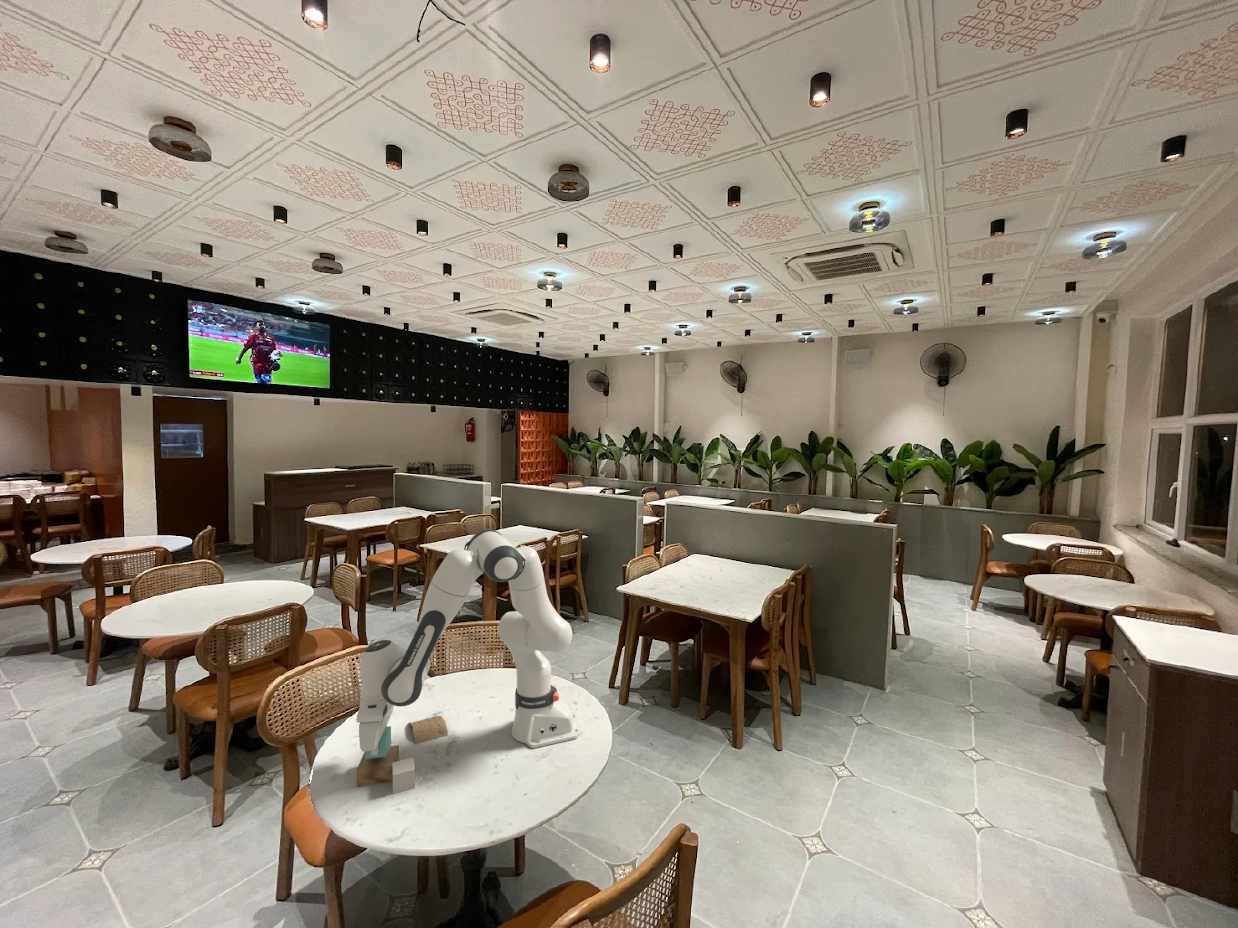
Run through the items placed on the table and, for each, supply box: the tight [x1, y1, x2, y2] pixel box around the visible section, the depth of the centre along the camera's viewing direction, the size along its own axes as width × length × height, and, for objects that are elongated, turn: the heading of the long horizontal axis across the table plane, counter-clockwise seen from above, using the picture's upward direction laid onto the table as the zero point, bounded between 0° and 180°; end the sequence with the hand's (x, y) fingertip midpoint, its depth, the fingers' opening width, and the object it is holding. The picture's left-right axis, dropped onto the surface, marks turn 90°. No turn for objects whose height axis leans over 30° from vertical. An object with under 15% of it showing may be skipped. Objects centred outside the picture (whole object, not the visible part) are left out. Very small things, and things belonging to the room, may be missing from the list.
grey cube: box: [391, 756, 416, 795], centre depth 135 cm, size 6×6×6 cm
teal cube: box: [365, 725, 392, 759], centre depth 138 cm, size 6×6×6 cm
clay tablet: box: [409, 715, 449, 745], centre depth 160 cm, size 14×10×3 cm
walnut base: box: [356, 744, 400, 787], centre depth 139 cm, size 9×9×5 cm
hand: (378, 745), depth 139 cm, fingers closed on teal cube, 5 cm apart
